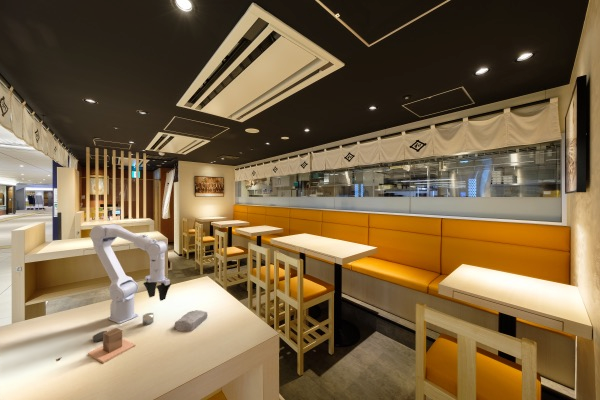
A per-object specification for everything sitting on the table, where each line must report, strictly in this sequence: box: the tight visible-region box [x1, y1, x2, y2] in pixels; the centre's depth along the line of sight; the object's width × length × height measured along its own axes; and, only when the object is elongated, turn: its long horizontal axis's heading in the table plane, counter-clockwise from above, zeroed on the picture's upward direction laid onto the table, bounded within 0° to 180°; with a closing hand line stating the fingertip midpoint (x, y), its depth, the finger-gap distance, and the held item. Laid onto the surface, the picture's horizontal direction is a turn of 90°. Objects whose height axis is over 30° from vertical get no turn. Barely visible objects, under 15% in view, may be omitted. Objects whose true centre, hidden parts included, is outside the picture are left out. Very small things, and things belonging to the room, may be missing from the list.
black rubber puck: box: [92, 330, 108, 343], centre depth 90 cm, size 4×4×2 cm
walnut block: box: [102, 327, 123, 353], centre depth 83 cm, size 4×4×6 cm
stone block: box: [174, 309, 208, 332], centre depth 102 cm, size 12×5×10 cm
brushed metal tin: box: [142, 312, 155, 326], centre depth 101 cm, size 4×4×4 cm
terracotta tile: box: [87, 338, 137, 364], centre depth 83 cm, size 10×10×1 cm
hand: (157, 298), depth 105 cm, fingers open, 7 cm apart
